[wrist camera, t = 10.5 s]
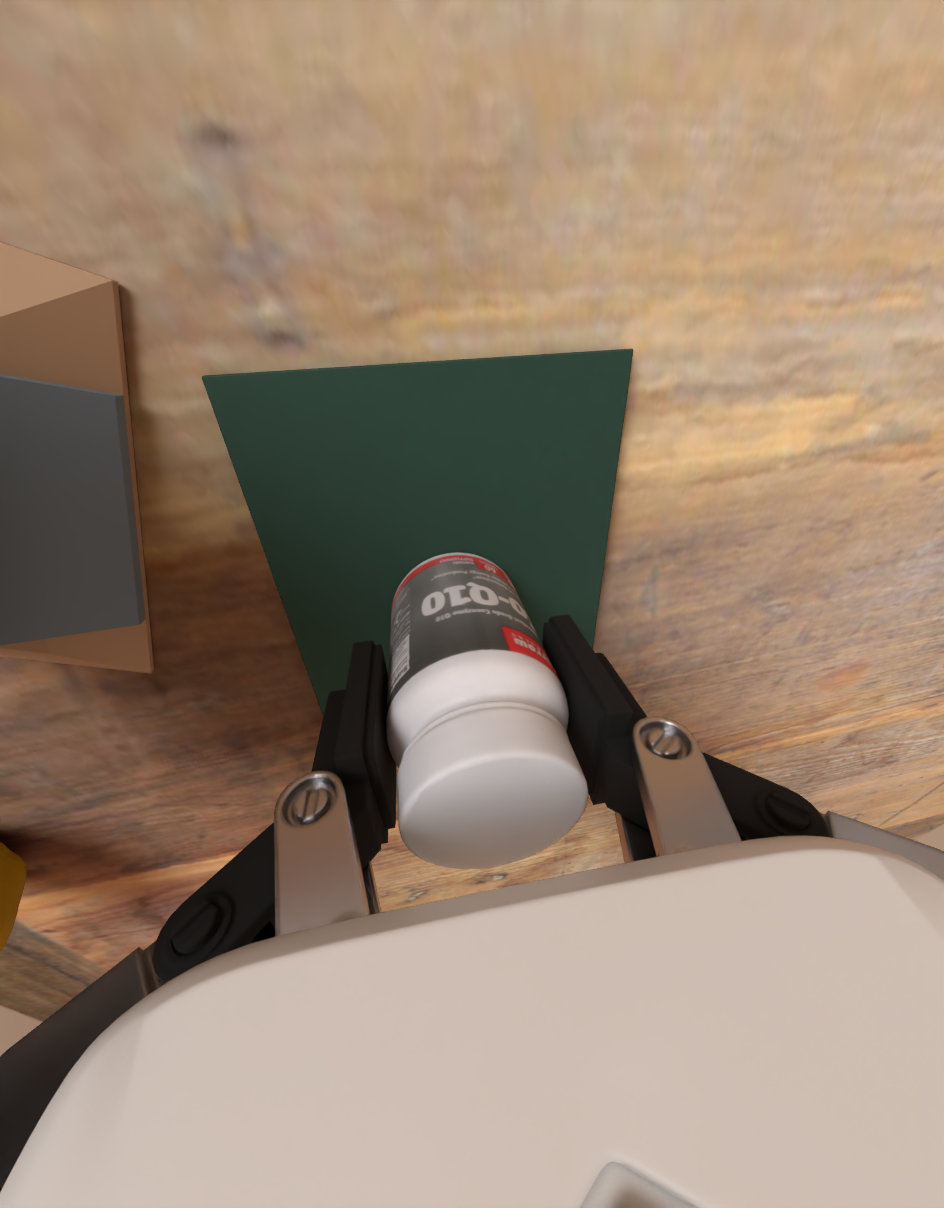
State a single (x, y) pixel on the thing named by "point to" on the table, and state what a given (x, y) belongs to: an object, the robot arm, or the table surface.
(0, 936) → the apple
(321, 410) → the mat
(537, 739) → the pill bottle
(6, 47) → the table surface
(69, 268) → the alarm clock
